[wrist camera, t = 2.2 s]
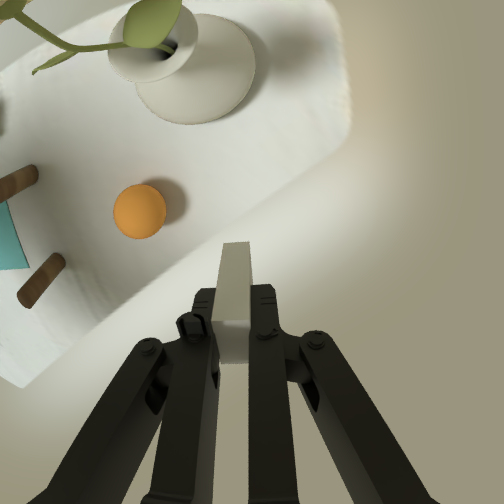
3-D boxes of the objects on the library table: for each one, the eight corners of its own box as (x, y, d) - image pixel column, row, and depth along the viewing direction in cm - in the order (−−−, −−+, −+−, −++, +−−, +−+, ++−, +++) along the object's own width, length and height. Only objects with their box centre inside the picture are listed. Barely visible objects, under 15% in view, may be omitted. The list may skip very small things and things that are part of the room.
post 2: (55, 269, 33) (22, 308, 25) (48, 253, 32) (13, 290, 24) (67, 268, 33) (35, 309, 25) (61, 252, 32) (26, 291, 24)
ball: (131, 227, 31) (112, 250, 26) (120, 182, 28) (98, 198, 23) (175, 223, 31) (163, 246, 26) (167, 174, 28) (151, 190, 23)
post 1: (27, 185, 27) (-18, 213, 19) (23, 167, 26) (-24, 191, 18) (40, 181, 27) (-6, 209, 19) (36, 162, 26) (-13, 185, 18)
